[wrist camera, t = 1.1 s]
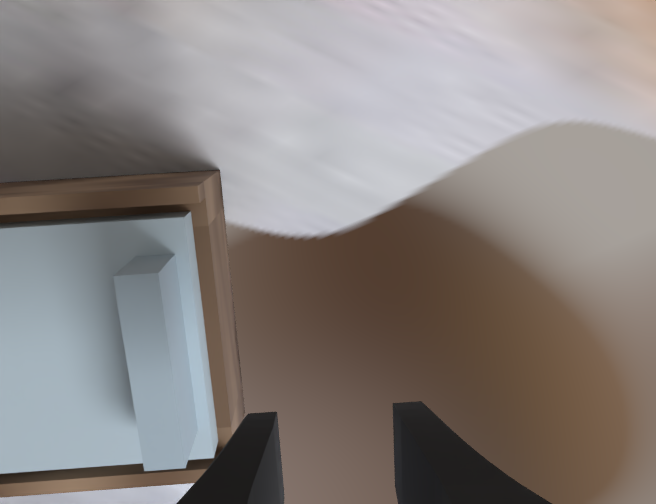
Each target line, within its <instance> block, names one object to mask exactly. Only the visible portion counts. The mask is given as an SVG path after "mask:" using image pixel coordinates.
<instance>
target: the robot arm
mask: <svg viewBox="0 0 656 504" xmlns="http://www.w3.org/2000/svg"><path fill="white" fill-rule="evenodd" d="M393 427H394V465H395V488H396V494H397V499H398V504H552V503H550V502H548V501H546V500H545V499H543V498H542V497H540V496H539V495H537V494H535V493H534V492H532V491H530V490H529V489H527V488H526V487H524V486H522V485H521V484H519V483H518V482H517V481H515V480H514V479H512V478H511V477H509V476H508V475H506V474H505V473H504V472H502V471H501V470H500V469H498V468H497V467H496V466H494V465H493V464H492V463H490V462H489V461H487V460H486V459H485V458H484V457H483V456H481V455H480V454H479V453H478V452H476V451H475V450H474V449H473V448H472V447H470V446H469V445H468V444H467V443H466V442H465V441H463V440H462V439H461V438H460V437H459V436H458V435H457V434H456V433H454V432H453V431H452V430H451V429H450V428H449V427H448V426H447V425H446V424H445V423H444V422H443V421H442V420H441V419H439V418H438V417H437V416H436V415H435V414H434V413H433V412H432V411H431V410H430V409H429V408H428V407H427V406H426V405H425V404H423V403H422V402H421V401H419V402H406V403H393ZM177 504H284V487H283V475H282V464H281V453H280V441H279V430H278V419H277V412H266V413H251V414H248V415H247V416H246V417H245V418H244V419H243V420H242V422H241V423H240V425H239V426H238V428H237V429H236V431H235V432H234V434H233V435H232V437H231V438H230V439H229V441H228V442H227V444H226V445H225V446H224V448H223V449H222V450H221V452H220V453H219V454H218V456H217V457H216V458H215V459H214V461H213V462H212V463H211V464H210V466H209V467H208V468H207V470H206V471H205V472H204V473H203V474H202V476H201V477H200V478H199V479H198V480H197V481H196V483H195V484H194V485H193V486H192V487H191V488H190V489H189V490H188V492H187V493H186V494H185V495H184V496H183V497H182V498H181V499H180V500H179V502H178V503H177Z"/></svg>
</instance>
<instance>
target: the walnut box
mask: <svg viewBox="0 0 656 504" xmlns="http://www.w3.org/2000/svg"><path fill="white" fill-rule="evenodd" d="M187 211H191V217H192V225H193V234H194V242H195V250H196V259H197V267H198V275H199V284H200V292H201V301H202V309H203V317H204V326H205V334H206V342H207V351H208V359H209V367H210V376H211V384H212V392H213V401H214V409H215V418H216V426H217V434H218V444H217V448H216V451H215V455H214V458H208V459H195V460H188V462H187V465H186V468H182V469H168V470H155V471H144V466H143V463H140V464H127V465H113V466H100V467H86V468H72V469H59V470H45V471H32V472H18V473H4V474H0V497H13V496H26V495H39V494H53V493H66V492H80V491H93V490H106V489H120V488H133V487H147V486H160V485H173V484H187V483H196V481H197V480H198V479H199V478H200V477H201V476H202V474H203V473H204V472H205V471H206V470H207V468H208V467H209V466H210V464H211V463H212V462H213V461H214V459H215V458H216V457H217V456H218V454H219V453H220V452H221V450H222V449H223V448H224V446H225V445H226V444H227V442H228V441H229V439H230V438H231V437H232V435H233V434H234V432H235V431H236V429H237V428H238V426H239V425H240V423H241V422H242V420H243V418H244V413H245V408H244V398H243V389H242V380H241V370H240V360H239V350H238V341H237V331H236V321H235V312H234V302H233V293H232V283H231V273H230V264H229V254H228V244H227V235H226V225H225V216H224V206H223V196H222V187H221V177H220V170H209V171H192V172H175V173H158V174H141V175H125V176H108V177H91V178H74V179H57V180H40V181H24V182H7V183H0V223H7V222H24V221H40V220H56V219H73V218H89V217H105V216H121V215H138V214H154V213H170V212H187Z"/></svg>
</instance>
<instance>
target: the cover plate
mask: <svg viewBox="0 0 656 504" xmlns="http://www.w3.org/2000/svg"><path fill="white" fill-rule="evenodd" d="M217 444H218V434H217V426H216V418H215V409H214V401H213V392H212V384H211V376H210V367H209V359H208V351H207V342H206V334H205V326H204V317H203V309H202V301H201V292H200V284H199V275H198V267H197V259H196V250H195V242H194V234H193V225H192V217H191V211H187V212H170V213H154V214H138V215H121V216H105V217H89V218H73V219H56V220H40V221H24V222H7V223H0V474H4V473H18V472H32V471H45V470H59V469H72V468H86V467H100V466H113V465H127V464H140V463H143V466H144V471H155V470H168V469H182V468H186V465H187V462H188V460H195V459H208V458H214V455H215V451H216V448H217Z"/></svg>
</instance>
